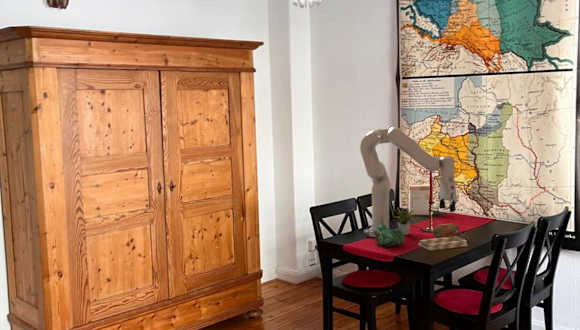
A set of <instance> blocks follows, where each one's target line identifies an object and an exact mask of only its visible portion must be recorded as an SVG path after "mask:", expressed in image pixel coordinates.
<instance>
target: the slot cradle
mask: <svg viewBox="0 0 580 330" xmlns="http://www.w3.org/2000/svg"><path fill="white" fill-rule="evenodd" d="M418 242H419V243H417V245H418V246H420V247H422V248H424V249H426V250H429V251H437V250H446V249H453V248H462V247H468V246H469V244H467V240H465V239H464V238H461V237H459V236H457V237H456V236H454V237H445V238H429V239H428V238H427V239H420V240H419V241H418Z"/></svg>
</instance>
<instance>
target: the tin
mask: <svg viewBox="0 0 580 330" xmlns="http://www.w3.org/2000/svg"><path fill="white" fill-rule="evenodd" d="M432 235H433V237H434V239H436V238H445V237H454V236H456V237H459V236H460V227H459V226H458V225H457V224H455V223H445V224H443V223H442V224H437V225H435V226H434V227H433V230H432Z"/></svg>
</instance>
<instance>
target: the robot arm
mask: <svg viewBox="0 0 580 330" xmlns="http://www.w3.org/2000/svg"><path fill="white" fill-rule="evenodd" d="M389 143H391V144H392V145H393V146H395V147H396V148H398V149H399V151H400V150H401V151H402V152H403V153H405V154H406V155H407V156H408V157H410V159H412V160H413V161H414V162H416V163H418V165H420V166H421V167H423V168H424V169H426V170H427V171H429V172H433V173H434V172H436V171H438V170H439V175H440V177H439V179H440V180H439V182H440V183H439V190H438V192H437V195H438V201H439V209H445V208H446V201H449V212H450V213H451V212H452V213H454V212H455V211H456V204H457V200H458V196H457V188H456V186H457V185H456V182H455V158H454V157H453V156H438V155H436V156H435V155H431V154H430V153H428V152H427V151H426V150H424V149H423V148H422V146H421V145H420V144H419V143H418V142H417V141H416V140H415V139H413V138H411V137H410V136H408V134H406V133H404V132H403V130H402V129H401V128H400V127H396V126H393V127H388V128H379V129H378V128H377V129H372V130H370V131H369V132H368V133H367V134H365V135H364V137H362V139H361V142H360V145H359V146H360V147H359V149H360V154H361V157H362V160H363V163H364V167H365V170H366V174H367V177H369V178H370V179H371V181H372V187H371V209H372V210H371V227H370V228H369V229H364V230H363V232H364V233H365V234H369V236H370V237H373V238H375V235H374V231H373V230H374V228H376V227H377V226H378V225H380V224H384V225H385V226H386V227H387V228H389V229H390V191H391V182H390V178H389V176H388V173H387V169H386V167H385V165H384V163H383V162H382V161H380V159H379V156H378V153H377V151H376V148H377V147H376V146H378V145H381V144H389Z"/></svg>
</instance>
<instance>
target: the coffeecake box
mask: <svg viewBox="0 0 580 330" xmlns="http://www.w3.org/2000/svg"><path fill="white" fill-rule="evenodd" d="M433 192H434V185H432V202H433V201H434V193H433ZM429 195H430V184H429V183H428V184H427V183H425V184H424V183H421V184H408V208H409V209H408V213H409V212H411V211H412V210H413V212H414V213H411V214H410V215H409V216H412V215H414V216H430V215H429ZM433 204H434V202H433V203H432V212H434V211H433V209H434V208H433V206H434V205H433ZM414 209H416V210H414Z"/></svg>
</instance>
